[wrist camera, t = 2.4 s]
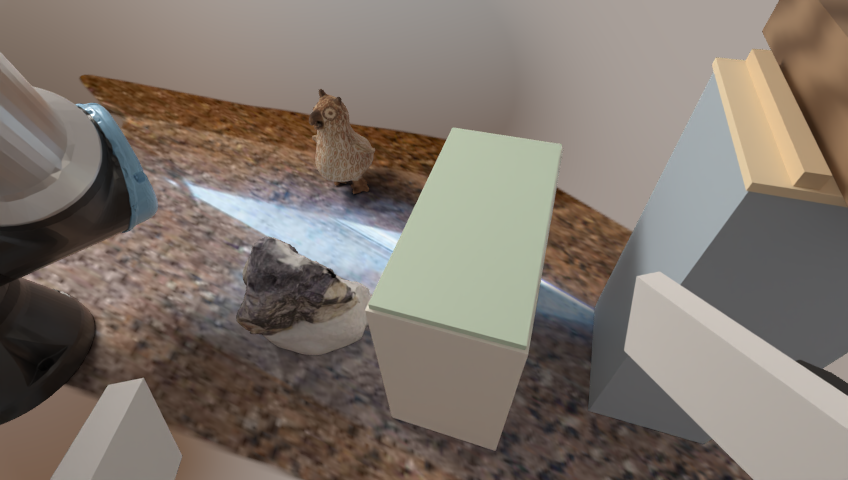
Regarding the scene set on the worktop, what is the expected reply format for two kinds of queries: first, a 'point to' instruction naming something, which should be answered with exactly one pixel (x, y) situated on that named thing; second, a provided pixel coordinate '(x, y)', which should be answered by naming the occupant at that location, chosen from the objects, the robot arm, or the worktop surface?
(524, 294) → the felt block
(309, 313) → the stone
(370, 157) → the figurine
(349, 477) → the worktop surface
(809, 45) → the walnut block
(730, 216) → the pillar
